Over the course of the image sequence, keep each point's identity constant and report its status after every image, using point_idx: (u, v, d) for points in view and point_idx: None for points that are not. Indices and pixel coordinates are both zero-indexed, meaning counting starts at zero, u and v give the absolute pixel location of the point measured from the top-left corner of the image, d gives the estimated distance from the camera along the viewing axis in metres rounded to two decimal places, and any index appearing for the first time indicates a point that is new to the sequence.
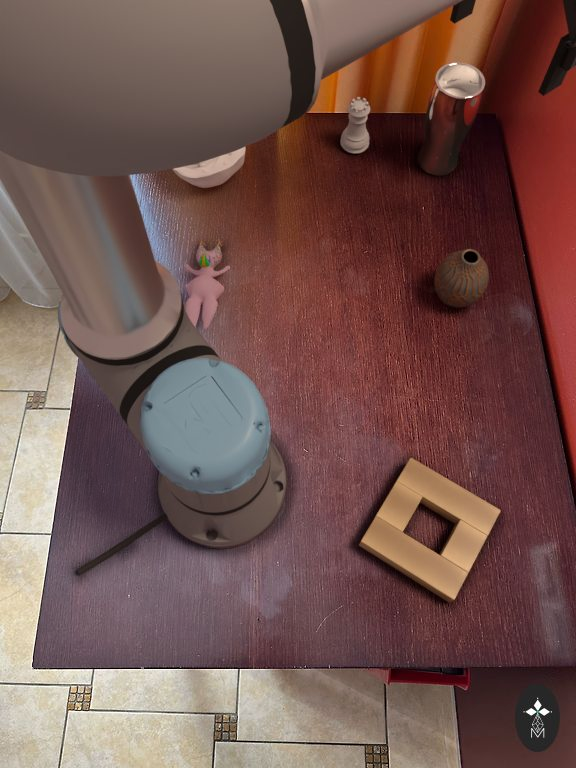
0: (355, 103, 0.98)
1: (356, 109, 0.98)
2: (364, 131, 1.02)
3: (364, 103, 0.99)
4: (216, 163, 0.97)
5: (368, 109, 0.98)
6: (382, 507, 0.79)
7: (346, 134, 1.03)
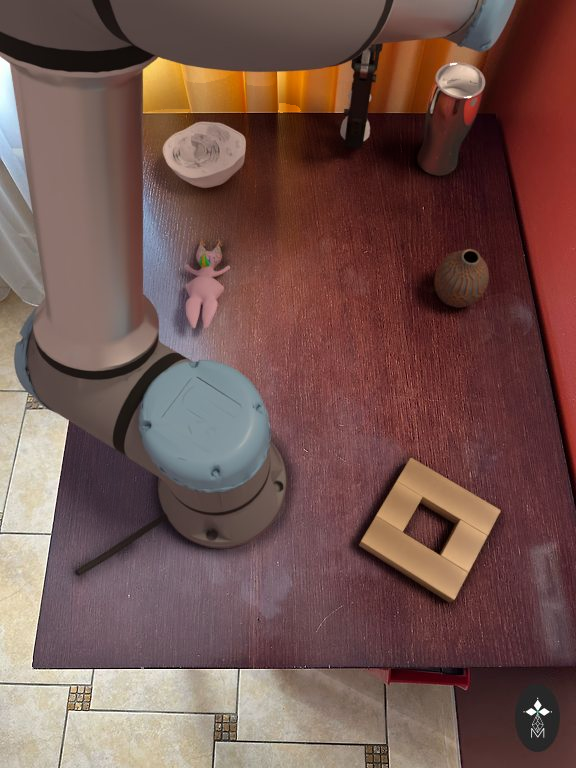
0: None
1: None
2: None
3: None
4: (216, 163, 0.97)
5: None
6: (382, 507, 0.79)
7: (346, 123, 1.00)
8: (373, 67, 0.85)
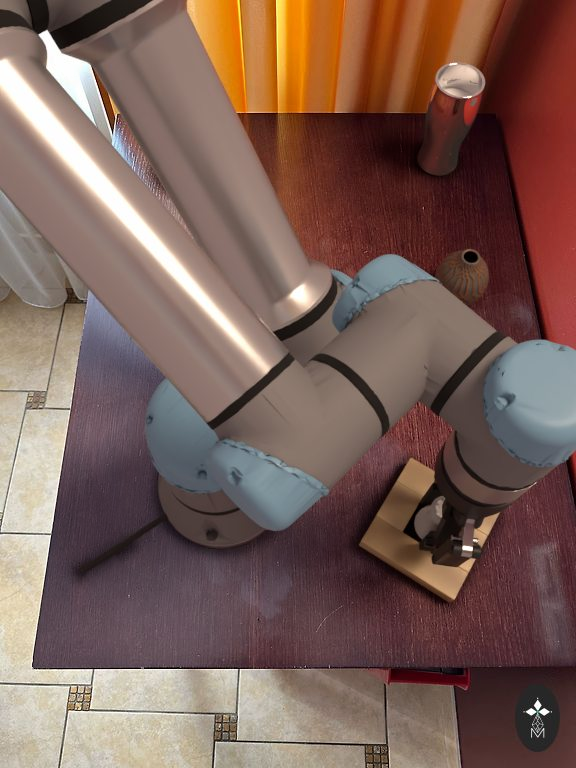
0: (441, 506, 0.72)
1: None
2: None
3: None
4: None
5: None
6: (382, 507, 0.79)
7: (424, 525, 0.76)
8: (479, 552, 0.60)
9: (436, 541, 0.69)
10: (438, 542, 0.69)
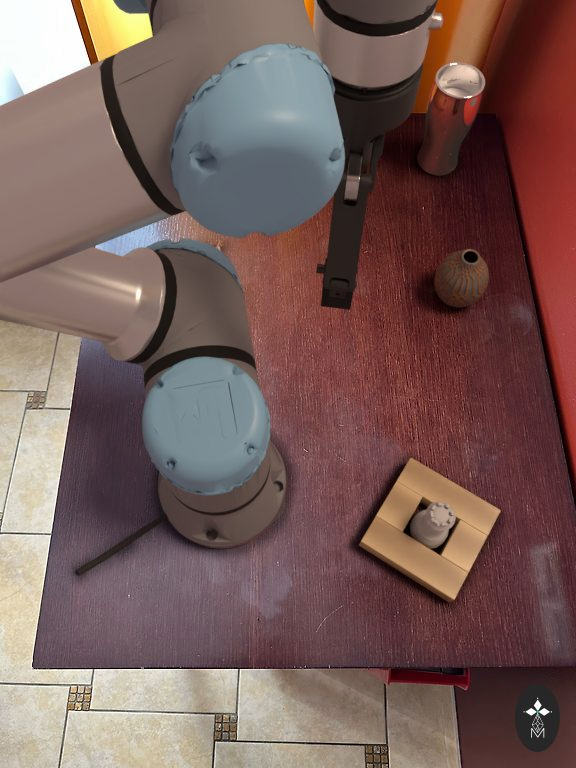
0: (436, 511, 0.74)
1: (438, 523, 0.73)
2: None
3: (448, 511, 0.74)
4: None
5: (453, 520, 0.74)
6: (382, 507, 0.79)
7: (420, 530, 0.78)
8: (369, 176, 0.48)
9: None
10: None
